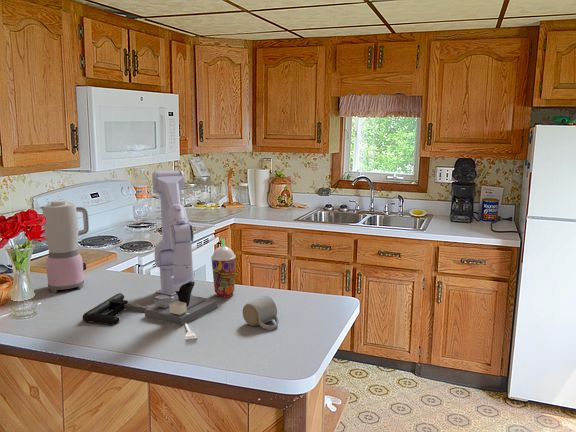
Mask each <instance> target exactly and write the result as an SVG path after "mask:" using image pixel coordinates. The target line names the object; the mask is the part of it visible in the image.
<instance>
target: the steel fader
mask: <svg viewBox="0 0 576 432" xmlns="http://www.w3.org/2000/svg"><path fill="white" fill-rule="evenodd" d="M171 296H172V295H167V294H159V295H157V296H155V297H154V305H155V306H158V307H162V308H166V307H168V306H170V305H169V304H170V303H171Z"/></svg>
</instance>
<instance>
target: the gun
mask: <svg viewBox="0 0 576 432" xmlns="http://www.w3.org/2000/svg"><path fill="white" fill-rule="evenodd" d="M149 307H150V306H149V305H142V304H136V303H135V304H134V303H128V300H126V299H125V296H124V294H123V293H121V292H119V293H116V294H114V295H113V296H111V297H109V298H108V299H106V300H104V301H103V302H101V303H99V304H97V305H96V306H94V307H93V308H91V309H90V310H88V311H87V312H86V311H85V312H84V314H83V315H82V320H83V322H85V323H91V322H92V323H97V324H103V325H109V326H115V325H117V324H118V323H120V317H119V316H117V315H119V314H120V313H121V312H123V311H131V312H140V313H141V312H143V313H145V309H147V308H149ZM108 311H109V312H108ZM106 312H107V313H106Z"/></svg>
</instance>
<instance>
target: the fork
mask: <svg viewBox="0 0 576 432" xmlns="http://www.w3.org/2000/svg"><path fill="white" fill-rule="evenodd" d="M184 329H185V330H186V331H185V332H186V334H185V335H184V337H185V340H186V341H187V340H193V339H194V340H195V339H198V336H196V333H194V332H193V331H192V330H191V329H190V327H189V325H188V323H185V325H184ZM193 336H194V337H193Z"/></svg>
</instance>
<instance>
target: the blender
mask: <svg viewBox="0 0 576 432" xmlns="http://www.w3.org/2000/svg"><path fill="white" fill-rule="evenodd" d="M39 208H40V209H41V210H42V217H43V216H45V218H46V224H45V225H43V231H44V230H45V233H44V232H43V234H44V239H45V242H46V246H47V249H48V255H47V259H46V262H45V266H46V275H47V276H46V278H47V288H48V289H50V290H51V293H58V290H69V289H74V288H77V289H78V290H81V289H83V287H84V284H85V278H84V277H85V276H84V271H86V270H87V263H86V262H83V257H82V255H81V254H80V252H79V250H78V242H79V236H83V235H86V234H88V233H89V225H90V223H89V214H88V213H89V212H88V211H87V209H86V208H84V207H83V206H82V207H81V206H76V203H74V202H67V199H58V200H57V199H56V200H51V201H50V203H47V204H43V206H39ZM78 212H80V213H82V221H83V229H81V230H79V220H78ZM46 238H47V240H46Z"/></svg>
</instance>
